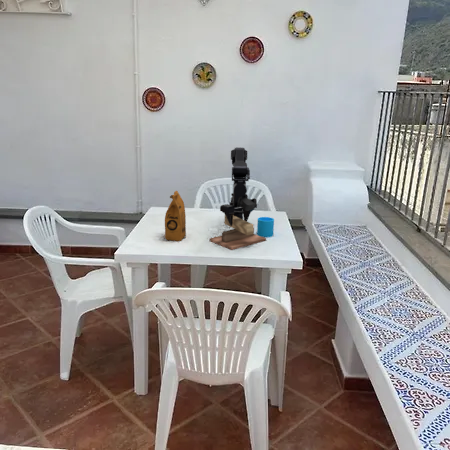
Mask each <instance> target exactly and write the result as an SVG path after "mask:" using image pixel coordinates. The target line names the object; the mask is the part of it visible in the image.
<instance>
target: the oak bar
mask: <svg viewBox="0 0 450 450" xmlns="http://www.w3.org/2000/svg"><path fill="white" fill-rule="evenodd" d="M224 225H226V226H228V227H230V228H232V229H236V230H238V231H240V232H242V233H244V234H246V235H250V234H253V228H254V229H255V227H254V224H253V223H251V222H249V221H248V220H247V221H245V220H244V219H243V220H242V219H240V218H238V217H236V216H234V215H233V224H232V226H230V224H229V222H228V220H227V217H226V216H225V215H224Z"/></svg>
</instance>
